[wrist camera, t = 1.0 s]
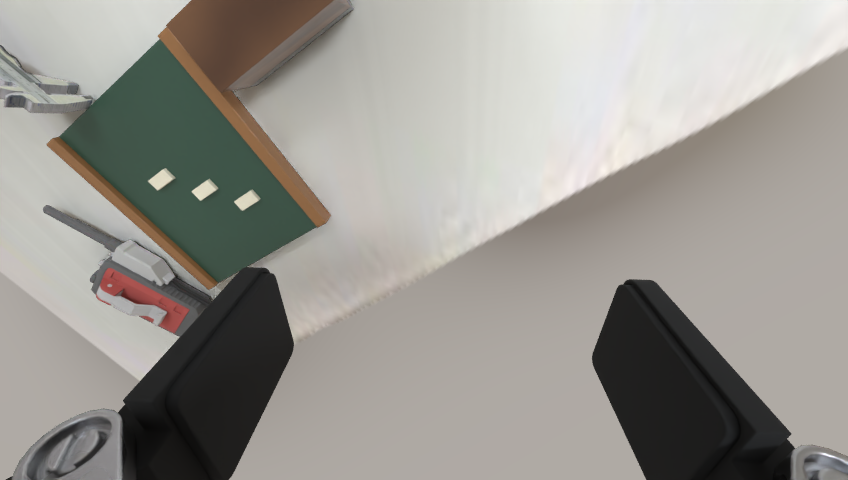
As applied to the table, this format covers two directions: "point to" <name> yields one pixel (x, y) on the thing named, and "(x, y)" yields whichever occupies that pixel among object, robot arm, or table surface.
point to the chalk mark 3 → (247, 200)
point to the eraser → (251, 35)
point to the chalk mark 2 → (204, 189)
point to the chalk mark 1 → (161, 179)
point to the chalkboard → (189, 165)
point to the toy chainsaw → (140, 282)
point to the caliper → (37, 89)
